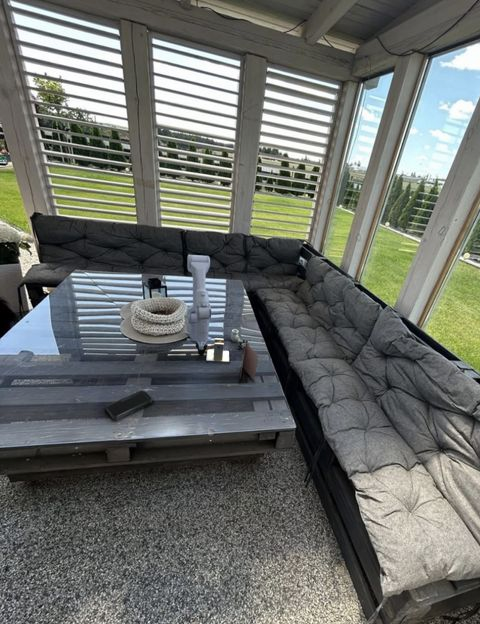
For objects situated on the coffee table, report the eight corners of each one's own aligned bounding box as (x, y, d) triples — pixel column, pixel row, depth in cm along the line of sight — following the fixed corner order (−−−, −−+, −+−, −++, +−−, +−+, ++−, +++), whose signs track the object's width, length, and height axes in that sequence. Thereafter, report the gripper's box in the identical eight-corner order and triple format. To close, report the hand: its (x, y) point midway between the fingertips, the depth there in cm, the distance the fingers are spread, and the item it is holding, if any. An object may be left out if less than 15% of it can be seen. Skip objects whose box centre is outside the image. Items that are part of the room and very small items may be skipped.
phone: (153, 400, 113) (114, 418, 102) (153, 402, 113) (114, 421, 103) (142, 389, 116) (104, 406, 106) (143, 391, 117) (104, 408, 107)
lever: (200, 355, 141) (197, 350, 139) (200, 351, 143) (197, 347, 142) (223, 347, 140) (220, 342, 138) (223, 344, 142) (220, 339, 141)
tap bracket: (206, 362, 140) (207, 345, 135) (207, 351, 147) (208, 335, 142) (228, 363, 142) (230, 347, 137) (228, 352, 149) (230, 337, 144)
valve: (227, 340, 159) (237, 351, 152) (228, 329, 156) (238, 341, 148) (237, 338, 163) (248, 349, 155) (238, 328, 159) (249, 339, 151)
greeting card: (240, 367, 141) (244, 342, 133) (255, 369, 142) (259, 344, 133) (237, 382, 132) (241, 356, 123) (253, 384, 132) (258, 358, 124)
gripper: (210, 338, 129) (209, 362, 137) (211, 322, 141) (210, 345, 149) (194, 337, 128) (193, 361, 136) (197, 321, 140) (196, 344, 147)
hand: (201, 353), depth 142 cm, fingers closed on lever, 3 cm apart
